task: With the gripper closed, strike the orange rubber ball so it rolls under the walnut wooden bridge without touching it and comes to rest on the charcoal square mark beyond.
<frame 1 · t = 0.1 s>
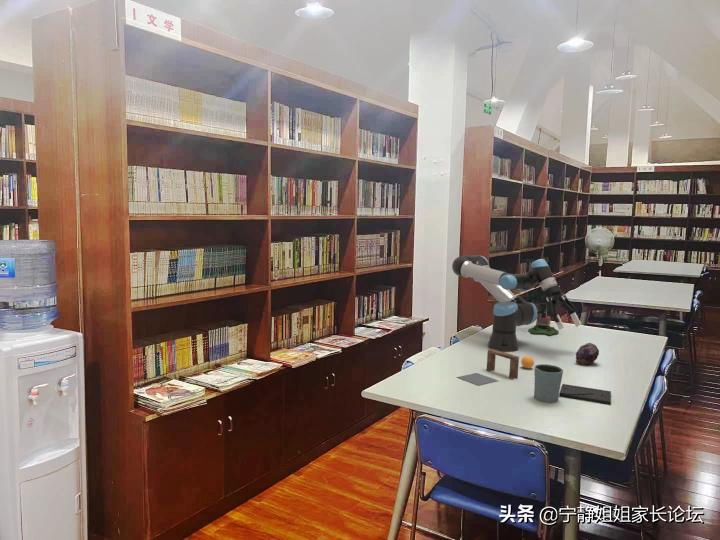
hand: (570, 327, 258), 15 cm above the table, tool tilted 35°, fingers open, 13 cm apart
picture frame: (585, 397, 206), on the table
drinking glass: (546, 399, 201), on the table
rock: (586, 363, 251), on the table
bridge: (501, 373, 231), on the table
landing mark: (477, 379, 222), on the table
bonsai tree: (535, 333, 313), on the table
ball: (527, 362, 240), on the table
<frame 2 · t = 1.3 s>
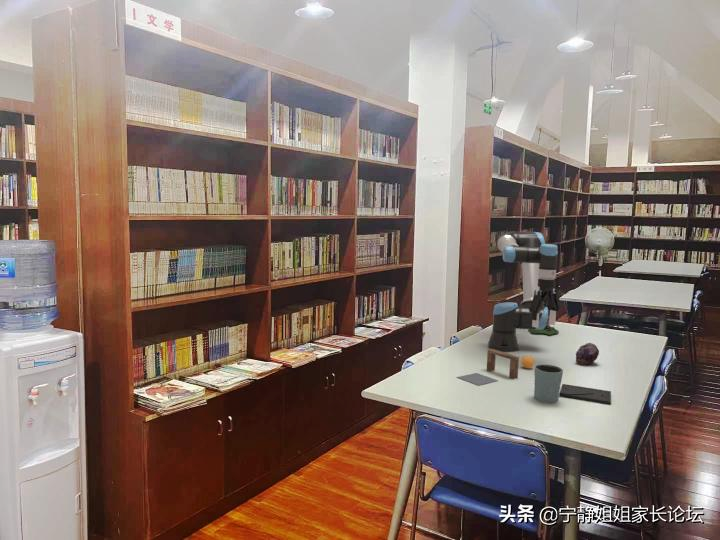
hand: (543, 325, 244), 18 cm above the table, tool pointing down, fingers open, 12 cm apart
nothing on the table moved.
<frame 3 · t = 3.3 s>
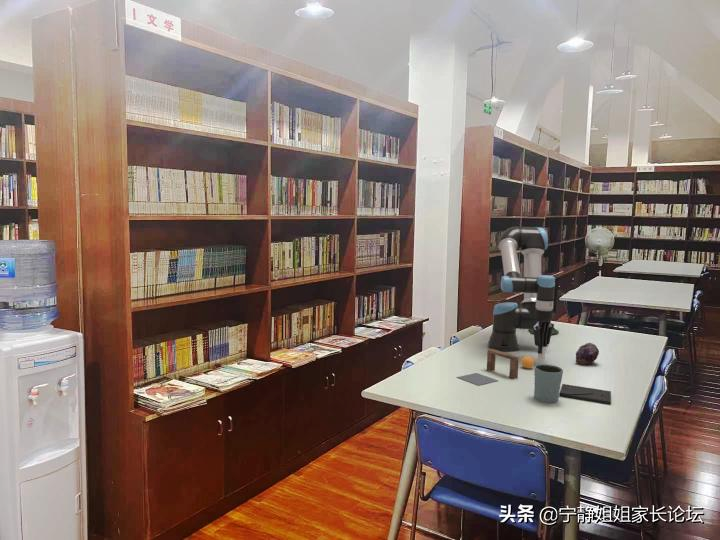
hand: (541, 360, 245), 2 cm above the table, tool pointing down, fingers closed
nothing on the table moved.
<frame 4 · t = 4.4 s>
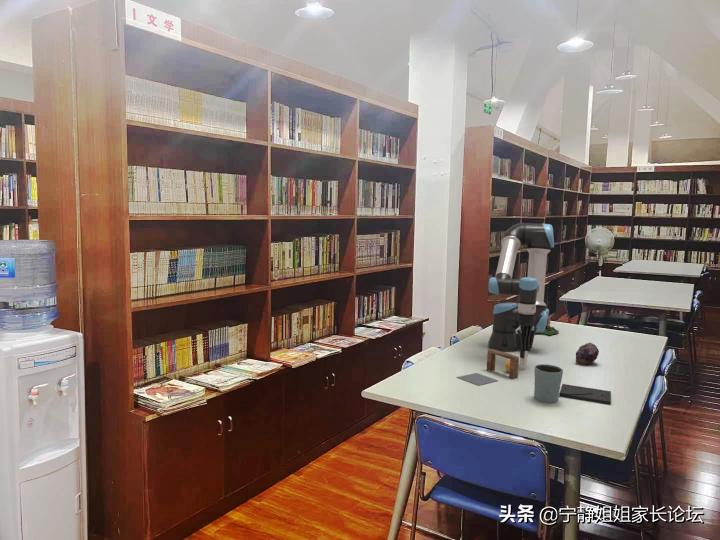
hand: (523, 364, 238), 2 cm above the table, tool pointing down, fingers closed
ball: (511, 365, 233), on the table
everything else where it was.
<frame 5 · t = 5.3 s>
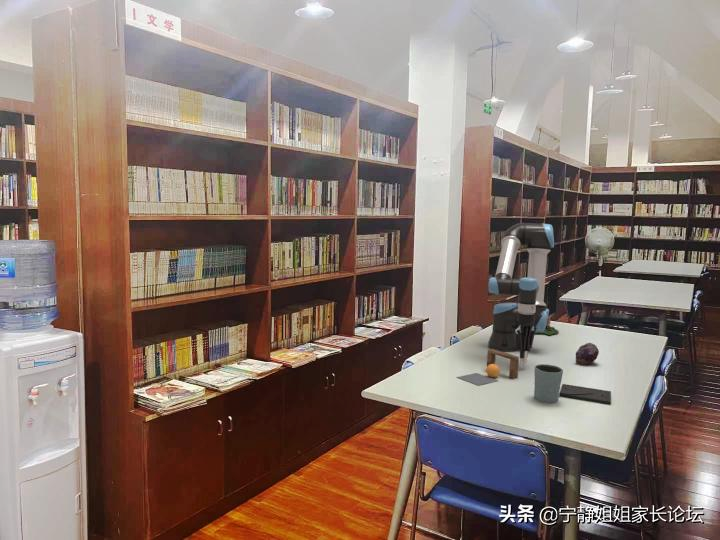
hand: (523, 364, 238), 2 cm above the table, tool pointing down, fingers closed
ball: (492, 370, 226), on the table
everything else where it was.
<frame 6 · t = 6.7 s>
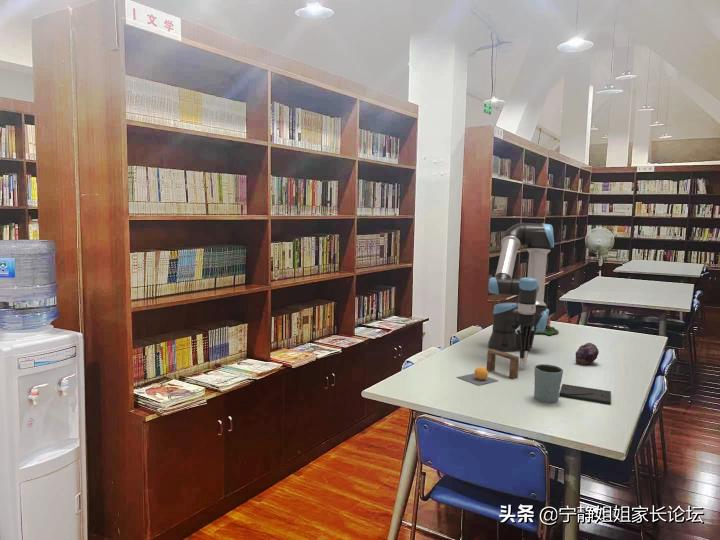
hand: (523, 364, 238), 2 cm above the table, tool pointing down, fingers closed
ball: (481, 373, 221), on the table
everything else where it was.
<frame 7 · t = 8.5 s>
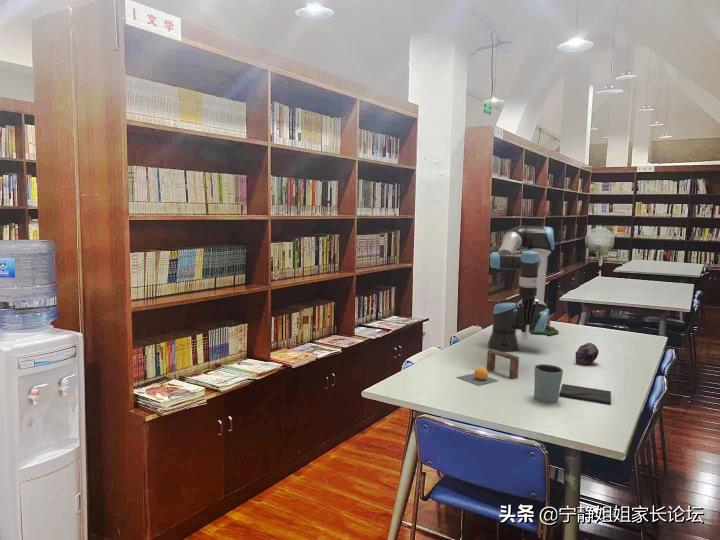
hand: (524, 338, 237), 14 cm above the table, tool pointing down, fingers closed
nothing on the table moved.
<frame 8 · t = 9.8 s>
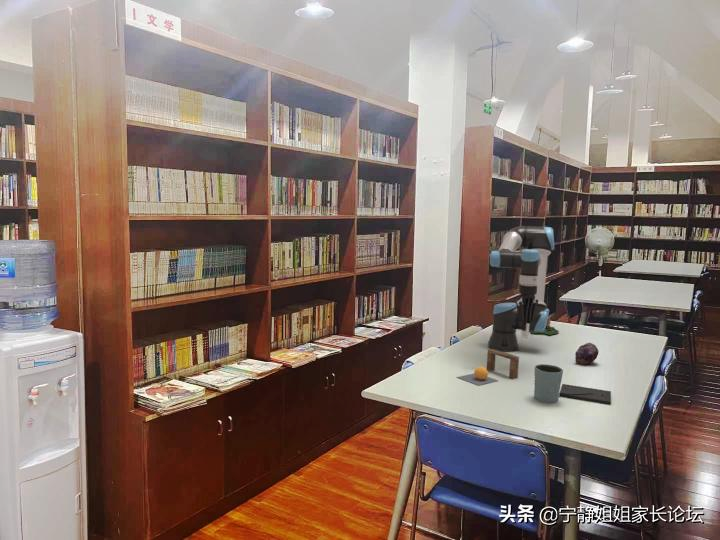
hand: (524, 337, 237), 14 cm above the table, tool pointing down, fingers closed
nothing on the table moved.
at the end: ball 1.4 cm from the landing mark (horizontally); ball never touched bridge; ball at rest at the end (0.0 cm/s) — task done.
